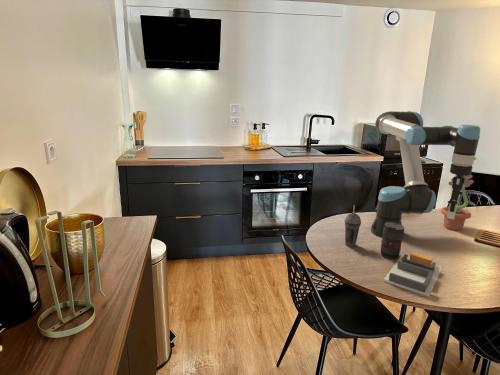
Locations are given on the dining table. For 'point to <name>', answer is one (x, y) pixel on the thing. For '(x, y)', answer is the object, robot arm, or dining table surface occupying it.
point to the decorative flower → (459, 208)
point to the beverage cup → (351, 228)
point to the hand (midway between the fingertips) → (451, 213)
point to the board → (413, 275)
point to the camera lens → (392, 240)
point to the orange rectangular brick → (421, 258)
